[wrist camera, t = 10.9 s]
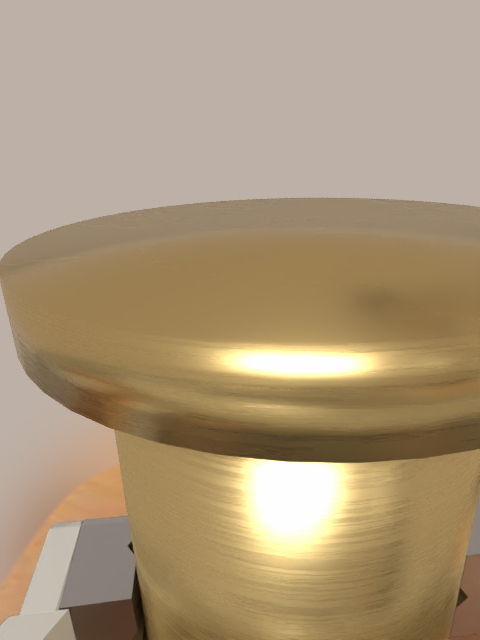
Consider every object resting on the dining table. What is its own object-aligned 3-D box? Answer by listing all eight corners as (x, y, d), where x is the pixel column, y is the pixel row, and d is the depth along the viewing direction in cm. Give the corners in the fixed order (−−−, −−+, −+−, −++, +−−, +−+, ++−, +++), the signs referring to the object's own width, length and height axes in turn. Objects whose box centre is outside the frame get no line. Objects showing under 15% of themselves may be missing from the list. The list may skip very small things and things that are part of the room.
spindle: (291, 591, 14) (298, 190, 10) (509, 816, 9) (724, 227, 5) (90, 753, 10) (-49, 233, 6) (275, 1258, 6) (273, 543, 1)
